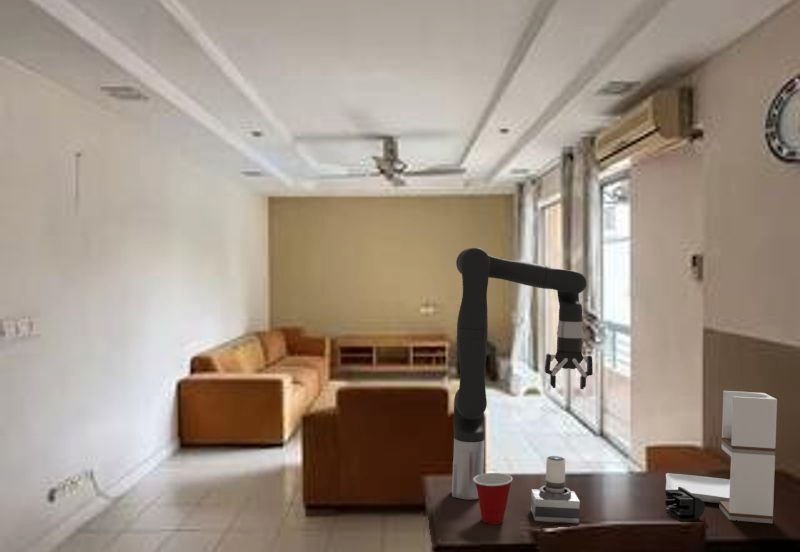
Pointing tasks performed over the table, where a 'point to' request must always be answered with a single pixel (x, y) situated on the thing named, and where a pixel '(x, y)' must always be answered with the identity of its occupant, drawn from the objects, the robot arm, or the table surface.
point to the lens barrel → (555, 474)
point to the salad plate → (700, 486)
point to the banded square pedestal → (555, 506)
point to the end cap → (684, 505)
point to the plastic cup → (493, 495)
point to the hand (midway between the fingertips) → (567, 388)
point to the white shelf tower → (749, 455)
